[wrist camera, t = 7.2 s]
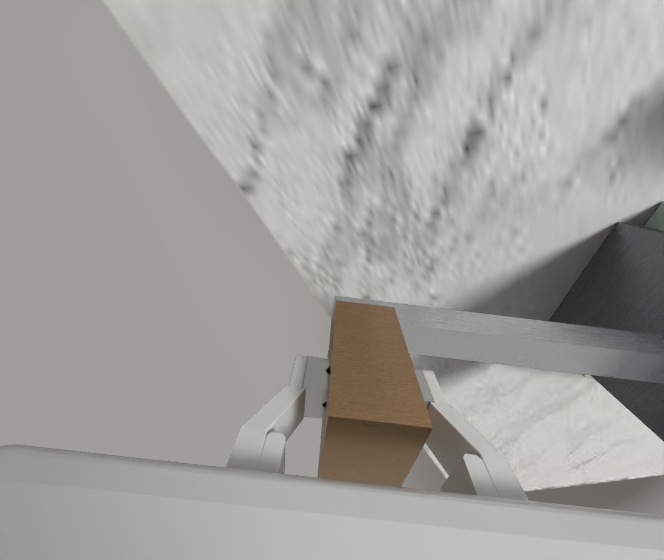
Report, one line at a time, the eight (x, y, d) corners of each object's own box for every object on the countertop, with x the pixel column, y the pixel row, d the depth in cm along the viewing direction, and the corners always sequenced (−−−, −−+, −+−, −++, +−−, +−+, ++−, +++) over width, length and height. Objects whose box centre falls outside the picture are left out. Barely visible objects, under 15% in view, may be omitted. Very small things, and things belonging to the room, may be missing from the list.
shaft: (329, 333, 16) (317, 481, 9) (336, 281, 14) (328, 416, 7) (712, 379, 16) (1003, 558, 9) (771, 333, 14) (1202, 516, 7)
